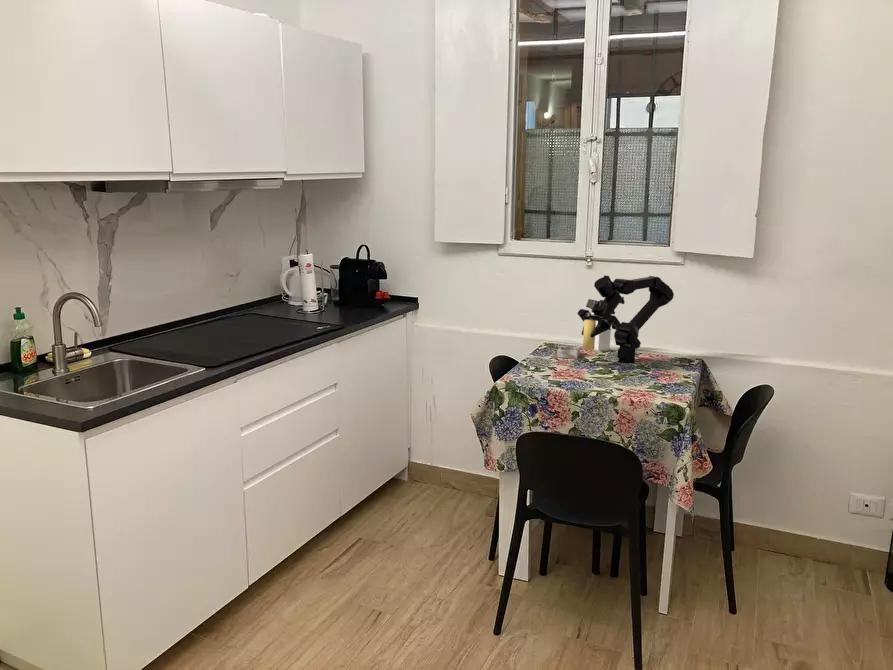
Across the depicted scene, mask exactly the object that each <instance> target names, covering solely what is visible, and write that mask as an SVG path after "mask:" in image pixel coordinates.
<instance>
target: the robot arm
mask: <svg viewBox="0 0 893 670" xmlns="http://www.w3.org/2000/svg"><path fill="white" fill-rule="evenodd" d="M593 285H594V288H595V290H596V291H597V292H598V293H599V295H600V296H601V297H602V298H604V299H600V300H596V299H591V298H588V300H587V303H586V305H585V307H586V308H589V309H590V310H591V312H590V310H588V309H585V308H581V309H579V310H578V311H577V316H579V318H580V319H581V320H582V322H583V323H584V320H595V321H598V324H597V326H596V327H595V329H594V330H593V332H592V333H591V335H590V336H591V338H593V337H594V336H596V335H598V334H600V333H602V332H605V331H607V330H610V329H611V330H615V331H614V333H613V336H614V337H613V338H614V342H615V346H619V348H617V355H616V356H617V357H616V358H617V360H618V361H617V362H618V363H625V364H626V363H629V364H635V362H636V351H637V350H638V349H639V348H641V344H642V341H640V340H639V333H640V329H641V328H643V326H644V325H645V324H646V322H648V321H649V319H650V318H651V317H652V316H653V315H654V314H655V312H657V310H658V309H659V308H661V307H665V306H666V305H668V304H669V303H670V302H671V301H673V298H674V295H675V294H674V293H675V292H674V290H673V289H672V288H671V287H670V285H668V284H666V282H665V281H663V280H662V279H661V277H659V276H654V275H653V276H652V275H649V276H645V277H641V278H640V277H639V278H633V279H627V278H615V279H614V280H611V277H610V276H609V275H607V274H606V275H605V274H604V276H603V277H600V278H598V279H597V280H595V282H594V284H593ZM643 289H648V292H649V293H650V294H649V300H647V302H646V303H645V304H644V305H643V306H642V307H641V308H640V310H639V311H638V312H637V313H636V314H635V315H634V317H632V319H631V320H630V321H629V322H625V321H622V322H620V321H619V319H618V317H617V316H616V315H615V314H616V311H615V310H616V309H617V307H618V306H619V305H620V304H622V305H624V304H625V297H624V296H622V295H627V296H628V295H631V294H632V293H634V292H635V291H637V290H643ZM592 313H594V315H592ZM611 314H612V315H611ZM610 327H611V328H610ZM583 334H584V325H583V328H582V330H581V335H582V336H583Z"/></svg>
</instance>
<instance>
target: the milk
mask: <svg viewBox="0 0 893 670" xmlns="http://www.w3.org/2000/svg"><path fill="white" fill-rule="evenodd" d="M591 314H592V315H594V313H592V312H591ZM611 315H613V314H611ZM597 324H598V321H596V326H597ZM610 328H611V329H610V330H607V331H605V332H602V333H600V334H598V335H596V336H595V345H594V349H593V350H595V351H607V350H610V349H611V333H612V326H611V327H610Z"/></svg>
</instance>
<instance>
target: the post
mask: <svg viewBox="0 0 893 670" xmlns="http://www.w3.org/2000/svg"><path fill="white" fill-rule="evenodd" d="M583 326H584V334H583V335H582V336H583V339H582V340H583V341H582V350H587V351H589V350H590V351H592V350H595V349H594V345H595V336H594V337H593V338H591V336H590V335H591V333H592V332H593V330H594V329H595V327H596V321H595V320H584V322H583Z"/></svg>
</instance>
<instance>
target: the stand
mask: <svg viewBox="0 0 893 670" xmlns="http://www.w3.org/2000/svg"><path fill="white" fill-rule="evenodd" d="M580 349H581V348H580V346H567V345H566V346H565V345H560V346H558V348H557V349H556V351H555V352H554V353H553V355H552V356H551V358H552V359H562V360H576V361H582V360H583V358H584V356H585V353H580V352H581V351H580Z"/></svg>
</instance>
